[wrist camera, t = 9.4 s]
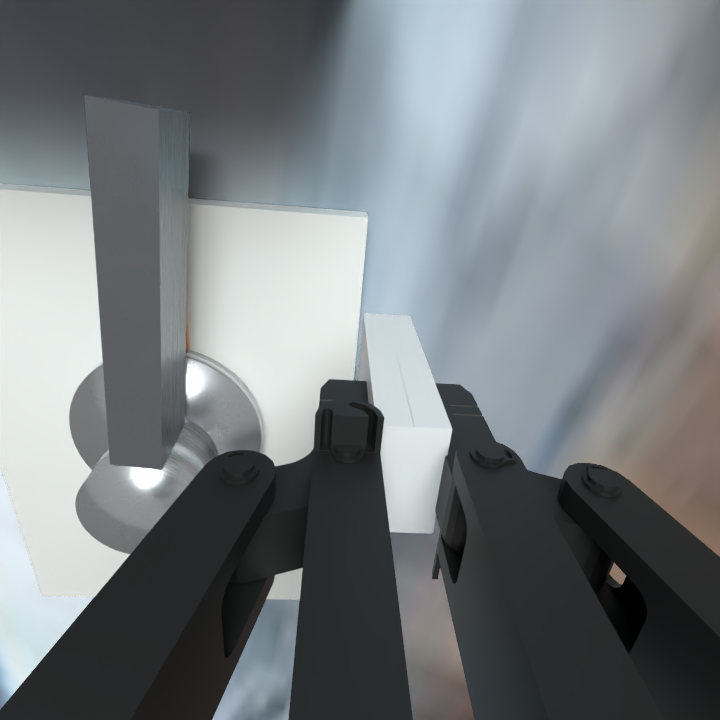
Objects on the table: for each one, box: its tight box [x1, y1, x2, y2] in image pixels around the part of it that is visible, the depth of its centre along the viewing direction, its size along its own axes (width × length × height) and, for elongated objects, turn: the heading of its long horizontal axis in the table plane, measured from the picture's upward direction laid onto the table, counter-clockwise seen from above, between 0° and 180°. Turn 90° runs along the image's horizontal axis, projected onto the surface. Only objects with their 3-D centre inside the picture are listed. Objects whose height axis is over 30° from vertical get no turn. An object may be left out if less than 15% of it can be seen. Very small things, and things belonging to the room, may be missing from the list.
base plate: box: [0, 183, 368, 600], centre depth 25 cm, size 25×18×2 cm
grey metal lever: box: [69, 95, 263, 554], centre depth 19 cm, size 19×9×5 cm, turn 170°
